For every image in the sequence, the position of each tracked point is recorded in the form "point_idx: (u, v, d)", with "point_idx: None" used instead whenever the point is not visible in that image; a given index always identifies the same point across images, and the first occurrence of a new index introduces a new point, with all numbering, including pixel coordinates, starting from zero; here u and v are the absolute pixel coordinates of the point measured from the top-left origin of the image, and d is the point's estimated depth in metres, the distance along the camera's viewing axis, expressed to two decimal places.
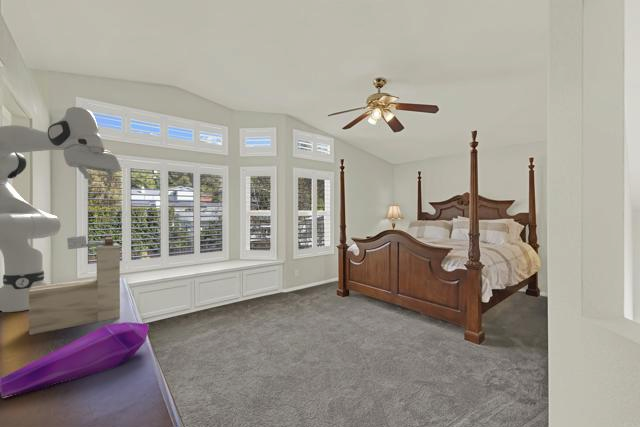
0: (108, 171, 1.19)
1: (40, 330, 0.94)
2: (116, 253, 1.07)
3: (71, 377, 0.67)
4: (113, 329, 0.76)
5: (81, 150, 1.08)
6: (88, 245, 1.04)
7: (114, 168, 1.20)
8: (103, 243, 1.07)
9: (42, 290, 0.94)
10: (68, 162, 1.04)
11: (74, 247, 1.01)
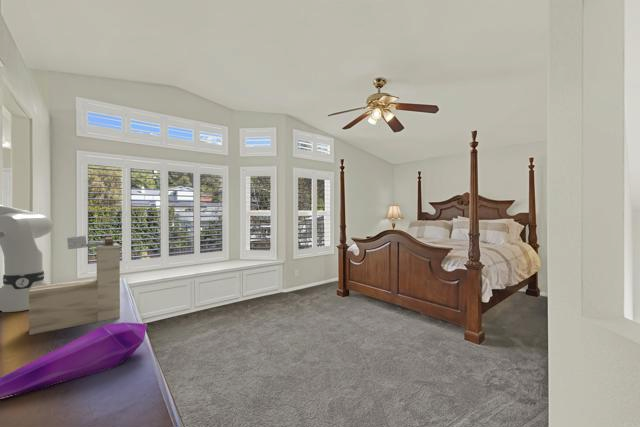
0: None
1: (40, 330, 0.94)
2: (116, 253, 1.07)
3: (69, 377, 0.67)
4: (111, 329, 0.76)
5: None
6: (88, 245, 1.04)
7: None
8: (103, 243, 1.07)
9: (42, 290, 0.94)
10: None
11: (74, 247, 1.01)
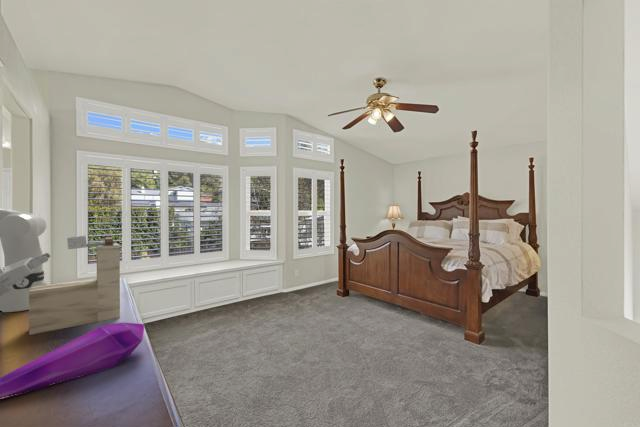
0: None
1: (40, 330, 0.94)
2: (116, 253, 1.07)
3: (67, 378, 0.67)
4: (109, 329, 0.76)
5: None
6: (88, 245, 1.04)
7: (31, 272, 0.91)
8: (103, 243, 1.07)
9: (42, 290, 0.94)
10: None
11: (74, 247, 1.01)
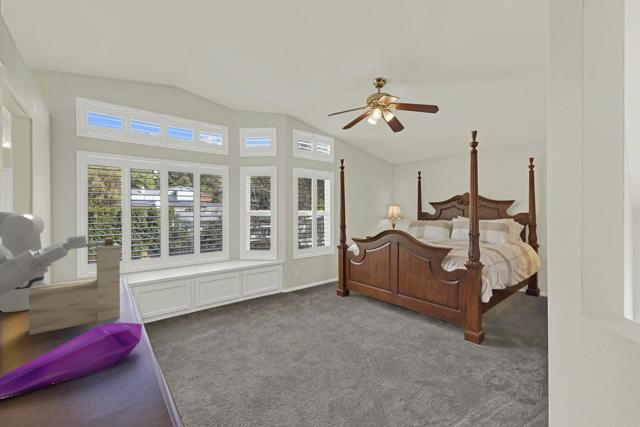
0: None
1: (40, 330, 0.94)
2: (116, 253, 1.07)
3: (66, 378, 0.67)
4: (107, 329, 0.76)
5: None
6: (88, 245, 1.04)
7: (66, 254, 0.96)
8: (103, 243, 1.07)
9: (42, 290, 0.94)
10: None
11: (74, 247, 1.01)
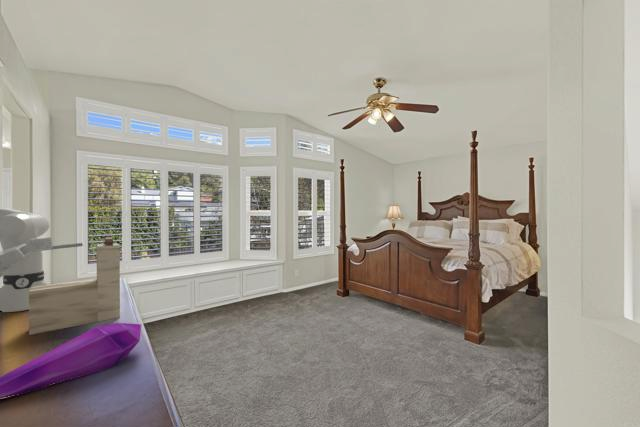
0: None
1: (40, 330, 0.94)
2: (116, 253, 1.07)
3: (64, 378, 0.67)
4: (106, 329, 0.75)
5: None
6: (54, 247, 0.98)
7: (23, 257, 0.90)
8: (70, 245, 1.01)
9: (42, 290, 0.94)
10: None
11: (38, 250, 0.95)
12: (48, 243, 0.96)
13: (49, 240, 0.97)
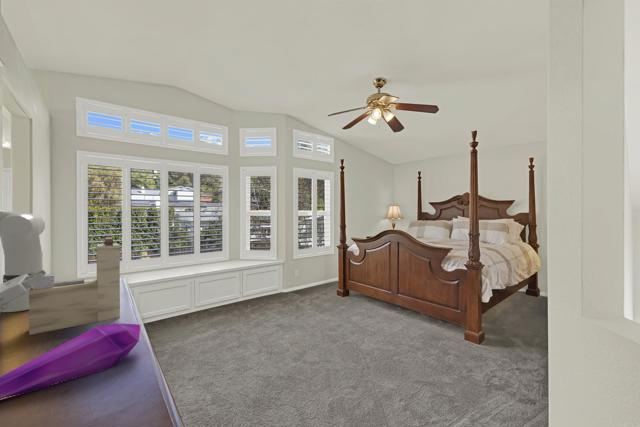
0: None
1: (40, 330, 0.94)
2: (116, 253, 1.07)
3: (63, 379, 0.66)
4: (105, 330, 0.75)
5: None
6: (56, 285, 0.98)
7: None
8: (72, 282, 1.01)
9: (42, 290, 0.94)
10: None
11: (40, 287, 0.95)
12: (51, 281, 0.97)
13: (52, 278, 0.97)
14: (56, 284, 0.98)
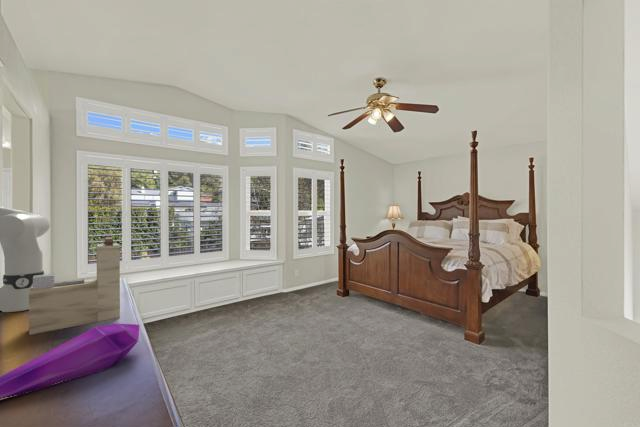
0: None
1: (40, 330, 0.94)
2: (116, 253, 1.07)
3: (62, 379, 0.66)
4: (104, 330, 0.75)
5: None
6: (56, 285, 0.98)
7: None
8: (72, 282, 1.01)
9: (42, 290, 0.94)
10: None
11: (40, 287, 0.95)
12: (51, 281, 0.97)
13: (52, 278, 0.97)
14: (56, 284, 0.98)
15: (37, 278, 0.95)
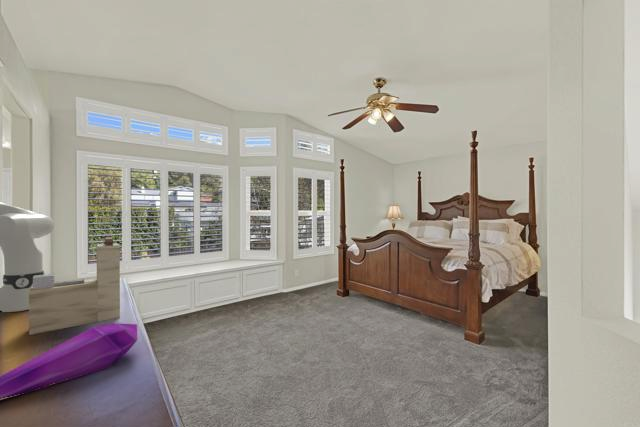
0: None
1: (40, 330, 0.94)
2: (116, 253, 1.07)
3: (62, 379, 0.66)
4: (103, 330, 0.75)
5: None
6: (56, 285, 0.98)
7: None
8: (72, 282, 1.01)
9: (42, 290, 0.94)
10: None
11: (40, 287, 0.95)
12: (51, 281, 0.97)
13: (52, 278, 0.97)
14: (56, 284, 0.98)
15: (37, 278, 0.95)
